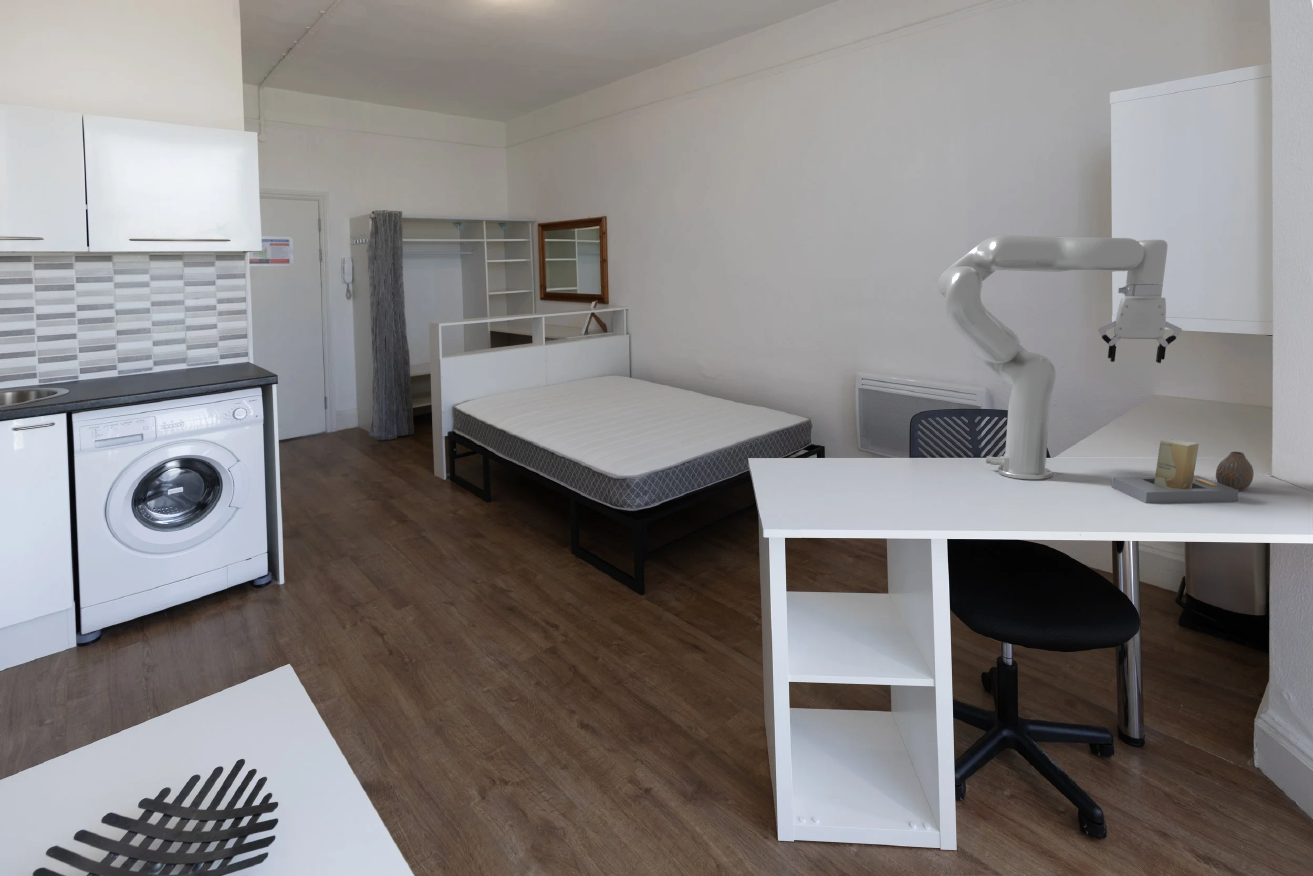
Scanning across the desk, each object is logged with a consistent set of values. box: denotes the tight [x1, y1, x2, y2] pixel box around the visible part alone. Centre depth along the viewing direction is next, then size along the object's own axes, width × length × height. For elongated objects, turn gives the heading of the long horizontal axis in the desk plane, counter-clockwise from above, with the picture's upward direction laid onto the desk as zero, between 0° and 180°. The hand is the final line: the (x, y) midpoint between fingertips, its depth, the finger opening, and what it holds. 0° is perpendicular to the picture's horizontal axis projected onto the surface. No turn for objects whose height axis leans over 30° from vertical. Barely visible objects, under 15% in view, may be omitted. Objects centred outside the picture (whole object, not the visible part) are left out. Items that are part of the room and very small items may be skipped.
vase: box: [1215, 451, 1255, 492], centre depth 168 cm, size 7×7×9 cm
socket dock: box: [1111, 474, 1240, 504], centre depth 166 cm, size 20×13×3 cm, turn 88°
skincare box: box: [1154, 438, 1199, 489], centre depth 165 cm, size 6×4×12 cm
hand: (1135, 361), depth 178 cm, fingers open, 9 cm apart
